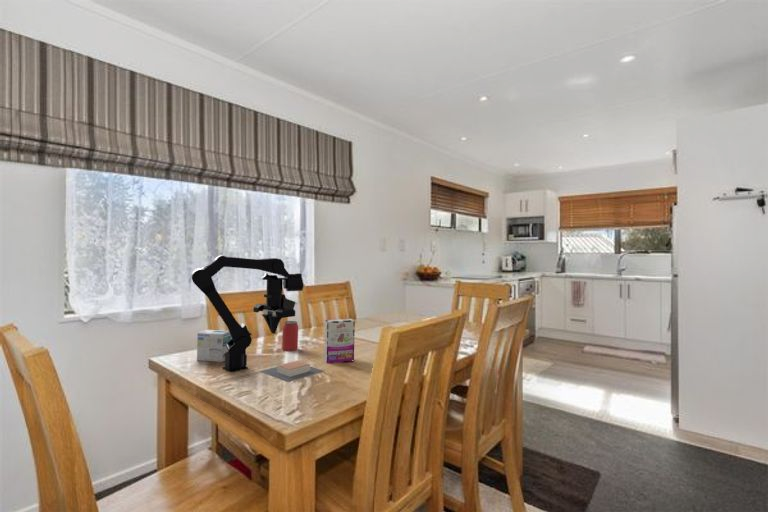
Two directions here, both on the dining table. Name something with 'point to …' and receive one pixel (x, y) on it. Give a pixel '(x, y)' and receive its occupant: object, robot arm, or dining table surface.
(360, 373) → the dining table surface
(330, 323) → the candy bar box
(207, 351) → the light bulb box
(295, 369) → the deck
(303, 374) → the mat
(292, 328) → the beer can
